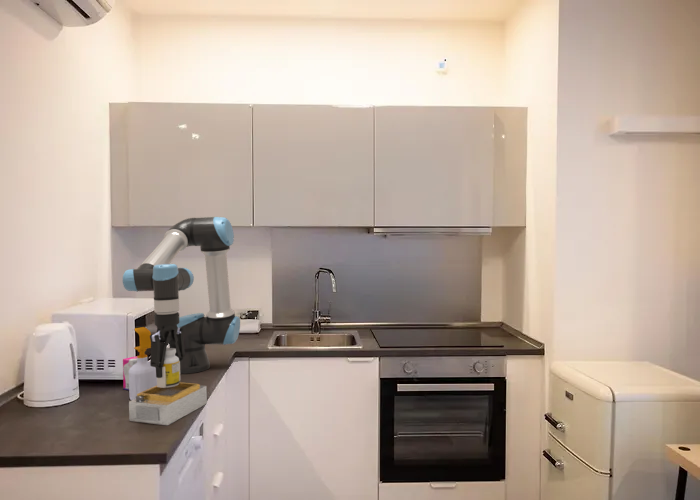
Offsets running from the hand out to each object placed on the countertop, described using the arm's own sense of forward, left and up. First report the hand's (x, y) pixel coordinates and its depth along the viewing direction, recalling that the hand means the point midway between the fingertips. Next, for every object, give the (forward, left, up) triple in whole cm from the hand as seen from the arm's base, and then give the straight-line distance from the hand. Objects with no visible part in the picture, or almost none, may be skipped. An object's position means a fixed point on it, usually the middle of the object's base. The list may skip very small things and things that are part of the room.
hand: (169, 383), depth 160 cm
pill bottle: (0, 0, -1) cm, 1 cm away
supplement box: (-18, -30, -9) cm, 36 cm away
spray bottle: (-10, -19, -9) cm, 23 cm away
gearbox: (0, 0, -9) cm, 9 cm away
